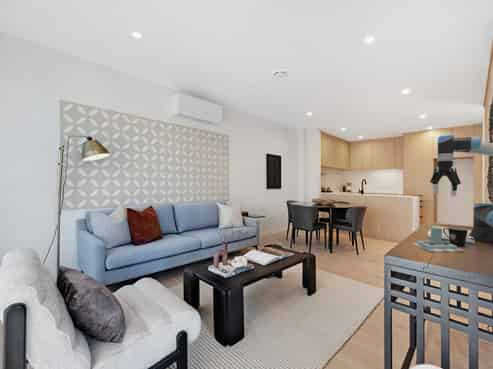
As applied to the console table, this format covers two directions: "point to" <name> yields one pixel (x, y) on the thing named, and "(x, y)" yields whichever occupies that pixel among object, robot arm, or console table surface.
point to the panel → (426, 244)
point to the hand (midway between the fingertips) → (444, 195)
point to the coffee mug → (457, 236)
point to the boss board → (439, 249)
